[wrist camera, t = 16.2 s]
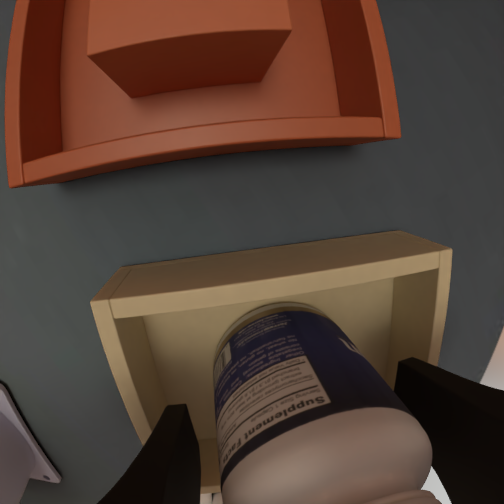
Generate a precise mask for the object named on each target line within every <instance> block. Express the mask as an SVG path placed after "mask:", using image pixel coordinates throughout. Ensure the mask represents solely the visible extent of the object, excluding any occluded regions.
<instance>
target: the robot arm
mask: <svg viewBox="0 0 504 504" xmlns="http://www.w3.org/2000/svg"><path fill="white" fill-rule="evenodd" d="M394 392H395V394H396V395H397V396H398V397H399V399H400V400H401V401H402V402H403V403H404V405H405V406H406V407H407V408H408V409H409V411H410V412H411V413H412V414H413V415H414V417H415V418H416V419H417V420H418V422H419V423H420V425H421V426H422V428H423V429H424V431H425V432H426V434H427V435H428V437H429V440H430V443H431V446H432V465H431V466H432V467H433V469H434V470H435V471H436V473H437V475H438V477H439V479H440V481H441V483H442V485H443V486H444V488H445V490H446V492H447V494H448V497H449V499H450V501H451V503H452V504H504V391H503V390H499V389H495V388H491V387H488V386H485V385H482V384H479V383H476V382H473V381H471V380H468V379H465V378H463V377H460V376H458V375H455V374H453V373H451V372H448V371H446V370H444V369H441V368H439V367H437V366H434V365H432V364H430V363H427V362H425V361H422V360H420V359H417V358H414V357H410V358H407V359H404V360H401V361H398V367H397V373H396V380H395V386H394ZM29 478H33V479H38V480H43V481H48V482H53V483H59V482H60V480H61V477H60V475H59V474H58V472H57V471H56V470H55V468H54V467H53V465H52V464H51V463H50V461H49V460H48V458H47V457H46V456H45V454H44V453H43V451H42V450H41V448H40V447H39V445H38V444H37V442H36V440H35V439H34V437H33V436H32V434H31V432H30V431H29V429H28V428H27V426H26V424H25V423H24V421H23V419H22V417H21V416H20V414H19V412H18V410H17V409H16V407H15V405H14V403H13V401H12V399H11V397H10V395H9V394H8V392H7V390H6V388H5V387H4V386H3V385H2V384H1V383H0V504H19V503H20V500H21V498H22V495H23V493H24V490H25V488H26V486H27V483H28V481H29ZM200 491H201V461H200V450H199V443H198V440H197V437H196V434H195V431H194V428H193V424H192V421H191V418H190V415H189V411H188V408H187V404H175V405H167V406H166V407H165V409H164V411H163V413H162V415H161V417H160V419H159V421H158V422H157V424H156V426H155V428H154V430H153V431H152V433H151V435H150V436H149V438H148V440H147V441H146V443H145V444H144V446H143V448H142V449H141V451H140V452H139V454H138V455H137V457H136V458H135V460H134V461H133V462H132V464H131V465H130V467H129V468H128V469H127V471H126V472H125V473H124V475H123V476H122V477H121V478H120V480H119V481H118V482H117V483H116V484H115V485H114V487H113V488H112V489H111V490H110V491H109V492H108V493H107V494H106V495H105V496H104V497H103V498H102V499H101V500H100V501H99V502H98V503H97V504H200Z"/></svg>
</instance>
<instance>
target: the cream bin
mask: <svg viewBox="0 0 504 504" xmlns="http://www.w3.org/2000/svg"><path fill="white" fill-rule="evenodd" d="M451 264H452V249H451V248H449V247H446V246H443V245H440V244H438V243H435V242H432V241H429V240H426V239H424V238H421V237H418V236H415V235H412V234H409V233H406V232H403V231H400V230H396V231H388V232H381V233H373V234H365V235H358V236H350V237H342V238H335V239H327V240H320V241H312V242H304V243H297V244H289V245H282V246H274V247H267V248H259V249H251V250H244V251H236V252H229V253H221V254H214V255H206V256H199V257H191V258H184V259H176V260H169V261H162V262H154V263H147V264H139V265H132V266H124V267H120V268H119V269H118V271H116V273H115V274H114V275H113V276H112V277H111V278H110V279H109V280H108V282H107V283H106V284H105V285H104V286H103V287H102V288H101V290H100V291H99V292H98V293H97V294H96V295H95V297H94V298H93V299H92V300H91V301H90V304H91V308H92V311H93V315H94V318H95V322H96V325H97V328H98V332H99V335H100V338H101V341H102V344H103V347H104V350H105V353H106V356H107V359H108V362H109V365H110V368H111V371H112V373H113V376H114V379H115V382H116V384H117V387H118V389H119V392H120V394H121V397H122V399H123V402H124V404H125V407H126V409H127V412H128V414H129V416H130V419H131V421H132V423H133V425H134V428H135V430H136V432H137V434H138V437H139V439H140V441H141V443H142V445H143V446H144V444H145V443H146V441H147V440H148V438H149V436H150V435H151V433H152V431H153V430H154V428H155V426H156V424H157V422H158V421H159V419H160V417H161V415H162V413H163V411H164V409H165V407H166V406H167V405H175V404H187V408H188V411H189V415H190V418H191V421H192V424H193V428H194V431H195V434H196V437H197V440H198V443H199V450H200V461H201V491H200V494H207V493H219V492H221V488H220V486H221V485H220V472H219V461H218V448H217V435H216V421H215V404H214V387H213V364H214V357H215V353H216V350H217V348H218V345H219V343H220V341H221V339H222V338H223V336H224V335H225V333H226V332H227V331H228V330H229V329H230V328H231V327H232V325H234V324H235V323H236V322H237V321H238V320H240V319H241V318H242V317H244V316H245V315H247V314H249V313H251V312H252V311H255V310H257V309H259V308H262V307H264V306H268V305H272V304H278V303H298V304H303V305H307V306H310V307H313V308H315V309H318V310H319V311H321V312H323V313H324V314H326V315H327V316H328V317H329V318H330V319H332V320H333V321H334V322H335V323H336V324H337V325H338V326H339V327H340V328H341V330H342V331H343V332H344V333H345V334H346V335H347V337H348V338H349V339H350V340H351V341H352V343H353V344H354V345H355V346H356V347H357V348H358V350H359V351H360V352H361V353H362V354H363V356H364V357H365V358H366V359H367V360H368V361H369V362H370V364H371V365H372V366H373V367H374V368H375V370H376V371H377V372H378V373H379V374H380V376H381V377H382V378H383V379H384V381H385V382H386V383H387V384H388V385H389V386H390V388H391V389H392V390H393V391H394V386H395V380H396V373H397V367H398V361H401V360H404V359H407V358H410V357H414V358H417V359H420V360H422V361H425V362H427V363H430V364H432V365H434V366H437V364H438V359H439V354H440V349H441V343H442V338H443V332H444V326H445V319H446V312H447V304H448V296H449V287H450V276H451Z"/></svg>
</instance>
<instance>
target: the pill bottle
mask: <svg viewBox="0 0 504 504" xmlns="http://www.w3.org/2000/svg"><path fill="white" fill-rule="evenodd" d="M213 387H214V404H215V421H216V435H217V448H218V461H219V472H220V485H221V486H220V488H221V494H222V500H223V504H442V503H441V502H440V501H439V500H437V499H436V498H435V496H434V495H433V494H432V493H431V492H430V491H426V490H421V488H422V486H423V485H424V483H425V481H426V479H427V477H428V474H429V472H430V468H431V465H432V446H431V443H430V440H429V437H428V435H427V434H426V432H425V431H424V429H423V428H422V426H421V425H420V423H419V422H418V420H417V419H416V418H415V417H414V415H413V414H412V413H411V412H410V411H409V409H408V408H407V407H406V406H405V405H404V403H403V402H402V401H401V400H400V399H399V397H398V396H397V395H396V394H395V392H394V391H393V390H392V389H391V388H390V386H389V385H388V384H387V383H386V382H385V381H384V379H383V378H382V377H381V376H380V374H379V373H378V372H377V371H376V370H375V368H374V367H373V366H372V365H371V364H370V362H369V361H368V360H367V359H366V358H365V357H364V356H363V354H362V353H361V352H360V351H359V350H358V348H357V347H356V346H355V345H354V344H353V343H352V341H351V340H350V339H349V338H348V337H347V335H346V334H345V333H344V332H343V331H342V330H341V328H340V327H339V326H338V325H337V324H336V323H335V322H334V321H333V320H332V319H330V318H329V317H328V316H327V315H326V314H324V313H323V312H321V311H319V310H318V309H315V308H313V307H310V306H307V305H303V304H298V303H278V304H272V305H268V306H264V307H262V308H259V309H257V310H255V311H252V312H251V313H249V314H247V315H245V316H244V317H242V318H241V319H240V320H238V321H237V322H236V323H235V324H234V325H232V327H231V328H230V329H229V330H228V331H227V332H226V333H225V335H224V336H223V338H222V339H221V341H220V343H219V345H218V348H217V350H216V353H215V357H214V364H213Z"/></svg>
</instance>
